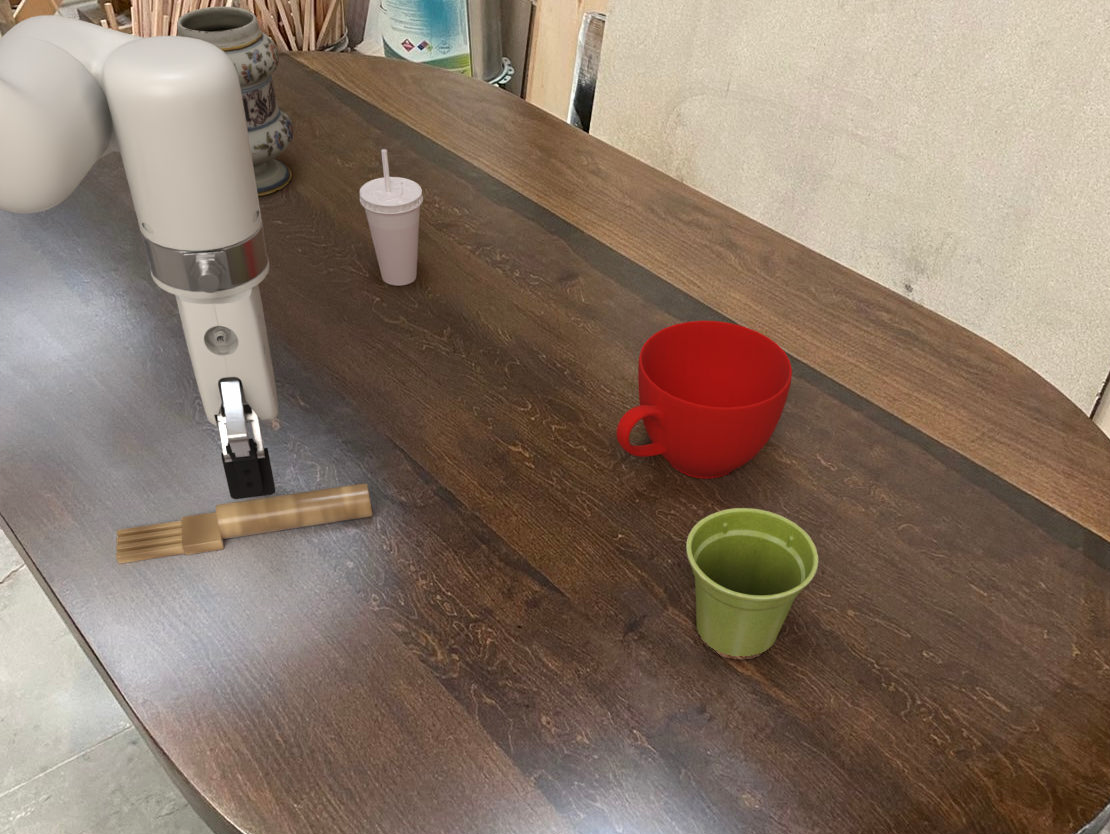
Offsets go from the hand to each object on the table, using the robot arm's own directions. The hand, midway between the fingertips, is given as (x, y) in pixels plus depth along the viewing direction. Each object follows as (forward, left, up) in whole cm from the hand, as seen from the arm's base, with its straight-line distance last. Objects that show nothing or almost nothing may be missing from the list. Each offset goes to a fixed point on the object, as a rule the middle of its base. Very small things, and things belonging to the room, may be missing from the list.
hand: (249, 453), depth 82 cm
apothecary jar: (+3, +63, -8) cm, 63 cm away
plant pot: (+34, -20, -8) cm, 40 cm away
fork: (-1, 0, -8) cm, 8 cm away
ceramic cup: (+37, 0, -8) cm, 37 cm away
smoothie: (+17, +37, -8) cm, 41 cm away
